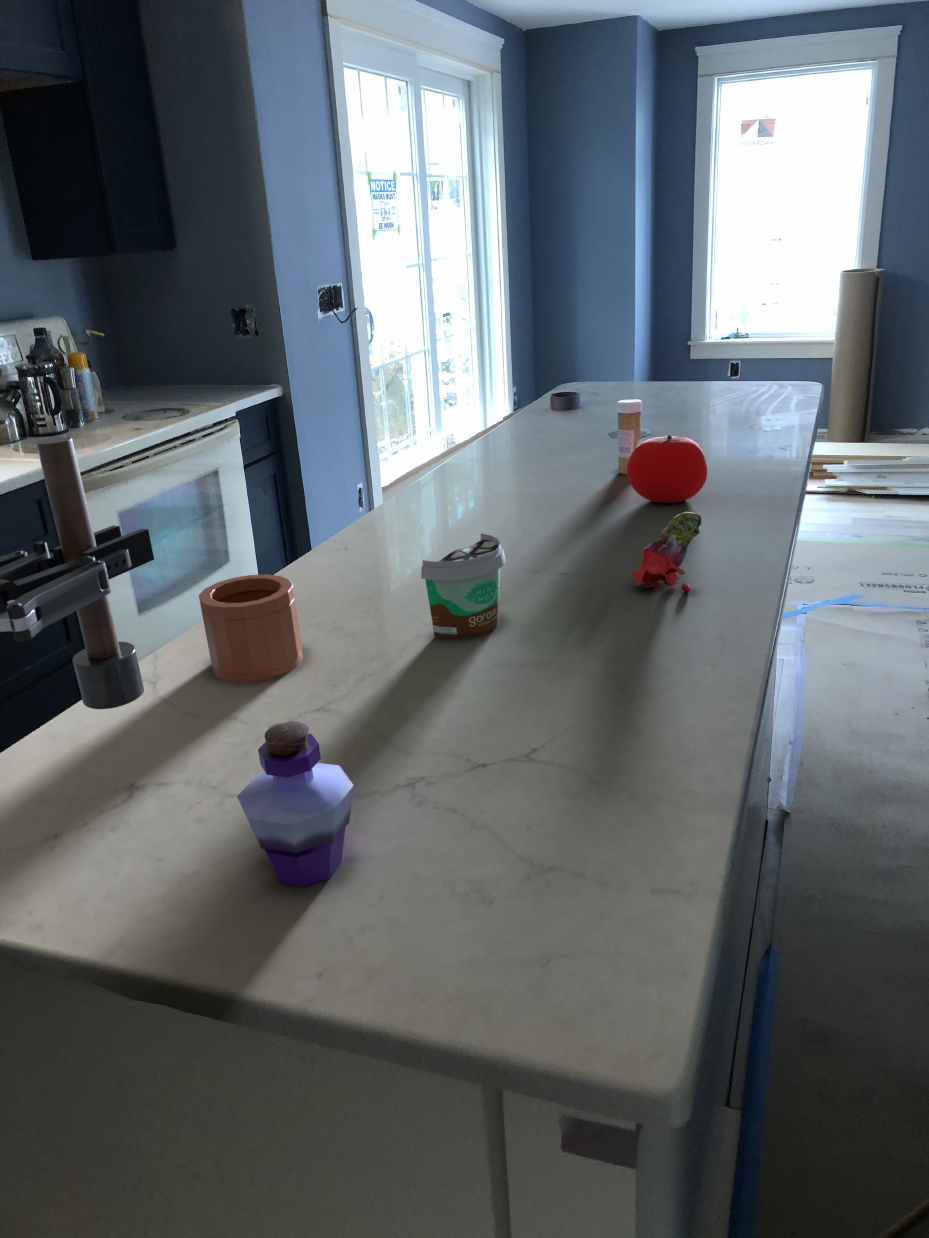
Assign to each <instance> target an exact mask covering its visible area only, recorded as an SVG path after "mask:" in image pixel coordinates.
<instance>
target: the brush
mask: <svg viewBox="0 0 929 1238" xmlns="http://www.w3.org/2000/svg"><path fill="white" fill-rule="evenodd" d="M35 446H36V449H37V454H38V458H39V462H40V466H41V470H42V474H43V479H44V482H45V487H46V491H47V494H48V499H49V503H50V507H51V512H52V515H53V520H54V523H55V528H56V532H57V536H58V540H59V544H60V545H61V549H62V553H63V557H64V561H65V563H68V562H71V561H73V560H76V559H79V558H82V555H81V552H84V551H86V550H89V549H91V548H94V547H96V541H95V537H94V529H93V525H92V524H93V523H92V520H91V515H90V511H89V507H88V503H87V502H88V501H87V497H86V494H85V490H84V489H85V488H84V483H83V479H82V476H81V471H80V466H79V462H78V458H77V454H76V450H75V449H76V448H75V445H74V441H73V438H72V437H70V436H54V437H49V438H44V439H40V440H38V441H36V442H35ZM60 545H59V546H60ZM76 614H77V619H78V623H79V627H80V631H81V636H82V639H83V640H82V641H83V643H84V648H83V649H82V650H80V651H77V653H76V654H74V656H73V657H72V665H73V668H74V672H75V676H76V680H77V684H78V688H79V693H80V697H81V700H82V701H81V702H82V704H83V705H84V706H85V707H86V708H89V709H92V710H109V709H115V708H119V707H123V706H125V705H128V704H131V703H132V702H133V703H134V701H137V700H138V699H139V698H140V697H141V696H143V694H144V691H145V687H144V681H143V678H142V677H143V676H142V673H141V668H140V663H139V660H138V655H137V651H136V647H135V646H134V644H133V643H130V642H127V641H119V639H118V635H117V630H116V625H115V622H114V617H113V612H112V607H111V604H110V599H109V594H107V595H105V596H103V597H102V598H100V599H98V600H96V601H94V602H92V603H90V604H88V605H86V606H84V607H83V608H81V609H79V610H77V611H76Z"/></svg>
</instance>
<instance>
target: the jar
mask: <svg viewBox="0 0 929 1238" xmlns="http://www.w3.org/2000/svg"><path fill="white" fill-rule="evenodd" d="M198 599H199V606H200V610H201V615H202V621H203V626H204V631H205V636H206V643H207V647H208V652H209V658H210V663H211V669H212V672H213V674H214V676H215V677H217V678H218V679H221V680H222V681H226V682H233V683H254V682H260V681H266V680H271V679H274V678H277V677H280V676H283V675H285V674H287V673H289V672H291V671H293V670H294V669H296V668H297V666H299V665H300V664H301V663H302V660H303V645H302V639H301V632H300V631H301V630H300V625H299V617H298V612H297V604H296V603H297V602H296V598H295V589H294V584H293V583H292V580H291V579H289V578H286V577H284V576H283V575H276V574H268V573H265V574H263V573H262V574H247V575H241V576H235V577H231V578H227V579H224V580H221V581H218V582H215V583H214V584H211V585H209V586H208V587H205V588H203V590H202V591H201V592H200V593H199V594H198Z"/></svg>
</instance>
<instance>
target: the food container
mask: <svg viewBox="0 0 929 1238" xmlns="http://www.w3.org/2000/svg"><path fill="white" fill-rule="evenodd" d="M505 555H506V554H505V551H504V548H503V546H502V544H501V542H500V540H499V539H498V538H497V537H495V536H493V535H490V534H486V533H483V532H480V540H478V541H477V542H476V543H473V544H471V545H469V546H467V547H462V548H458V549H454V550H453V551H451V552H450V553H448V554H447V555H445V556H444V557H443V558H441V559H440V560H438V561H434V560H433V561H432V560H426V559H422V566H421V574H420V575H421V576H420V579H422V580H425V587H426V593H427V598H428V599H427V600H428V605H429V610H430V617H431V623H432V629H433V630H432V631H433V635H434V638H437V639H442V640H467V639H472V638H477V637H481V636H484V635H486V634H487V635H488V634H489V633H490V632H492V631H494V630H495V629H496V628H497V627H498V626H499V621H500V620H499V619H500V618H499V616H500V589H501V588H500V586H501V585H500V584H501V583H500V582H501V568H502V567H503V566H504V565H505V563H506V560H507V559H506V556H505Z"/></svg>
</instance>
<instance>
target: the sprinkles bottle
mask: <svg viewBox="0 0 929 1238" xmlns="http://www.w3.org/2000/svg"><path fill="white" fill-rule="evenodd" d="M642 411H643V402H642V400H641V399H634V398H633V399H631V398H630V399H622V400H618V401H617V403H616V412H617V456H618V459H617V460H618V468H617V472H618V473H619V474H621V475H627V465H628V461H629V459H630V456H631V454H632V452H633V451H634V449H635V448H636V447H637V446H638V445H640V444H641V443H642Z"/></svg>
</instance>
